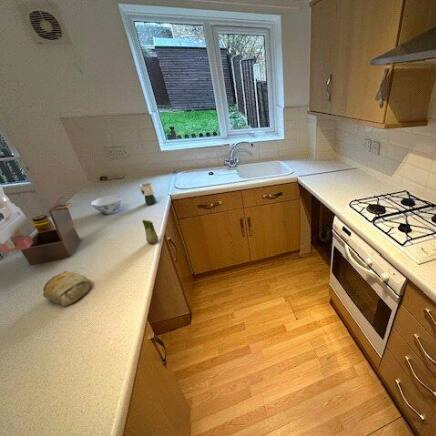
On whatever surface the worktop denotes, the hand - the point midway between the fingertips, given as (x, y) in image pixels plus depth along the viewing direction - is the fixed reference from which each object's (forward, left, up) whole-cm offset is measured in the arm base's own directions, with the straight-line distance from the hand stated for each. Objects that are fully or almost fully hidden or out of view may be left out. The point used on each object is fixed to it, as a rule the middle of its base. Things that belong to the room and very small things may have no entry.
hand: (16, 243), depth 91 cm
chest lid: (+10, +14, +2) cm, 17 cm away
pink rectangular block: (0, 0, -2) cm, 2 cm away
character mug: (+40, +56, -14) cm, 70 cm away
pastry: (+17, -22, -14) cm, 31 cm away
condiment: (-4, +31, -14) cm, 34 cm away
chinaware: (+18, +53, -14) cm, 58 cm away
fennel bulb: (+43, +3, -14) cm, 46 cm away
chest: (+3, +14, -14) cm, 20 cm away
